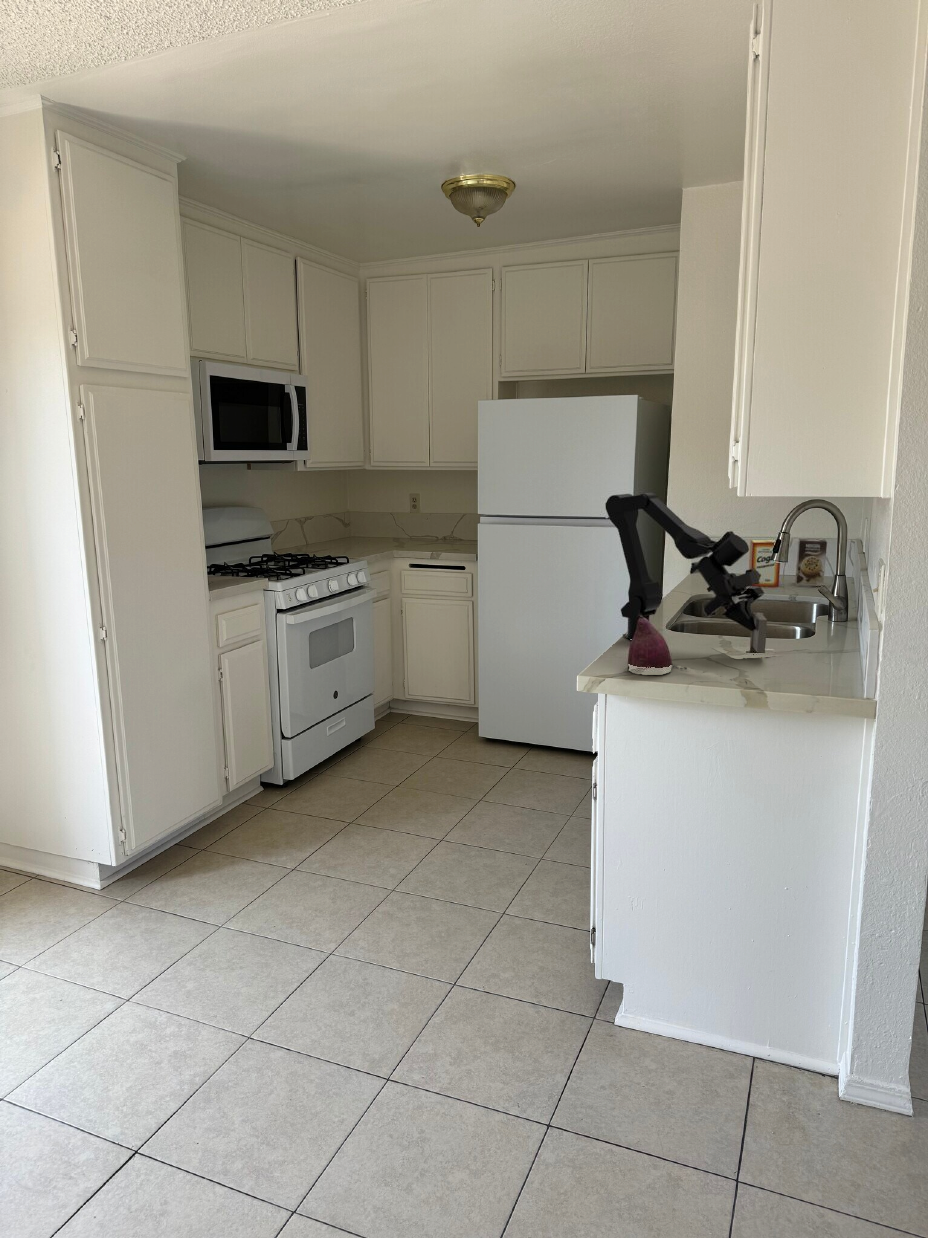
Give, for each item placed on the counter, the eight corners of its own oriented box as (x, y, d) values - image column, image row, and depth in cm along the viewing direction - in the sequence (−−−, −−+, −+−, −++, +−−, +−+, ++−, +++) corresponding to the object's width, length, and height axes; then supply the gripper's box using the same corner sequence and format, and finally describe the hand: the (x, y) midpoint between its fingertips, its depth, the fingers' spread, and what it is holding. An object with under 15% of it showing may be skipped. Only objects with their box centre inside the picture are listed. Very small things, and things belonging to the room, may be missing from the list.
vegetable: (640, 690, 198) (631, 632, 192) (621, 673, 208) (611, 617, 202) (681, 676, 200) (673, 618, 194) (660, 659, 209) (652, 603, 204)
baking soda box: (750, 586, 306) (752, 541, 302) (748, 583, 312) (750, 538, 308) (778, 586, 304) (781, 541, 300) (775, 583, 310) (778, 539, 307)
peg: (755, 658, 205) (757, 619, 203) (748, 650, 213) (750, 612, 211) (779, 659, 204) (782, 619, 202) (772, 650, 212) (774, 612, 210)
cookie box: (796, 586, 304) (799, 540, 301) (794, 583, 310) (797, 538, 307) (824, 587, 302) (827, 541, 298) (822, 584, 308) (825, 538, 304)
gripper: (718, 562, 201) (757, 617, 196) (760, 554, 213) (798, 605, 208) (687, 589, 209) (723, 643, 203) (729, 580, 221) (765, 630, 215)
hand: (753, 630), depth 207 cm, fingers closed
